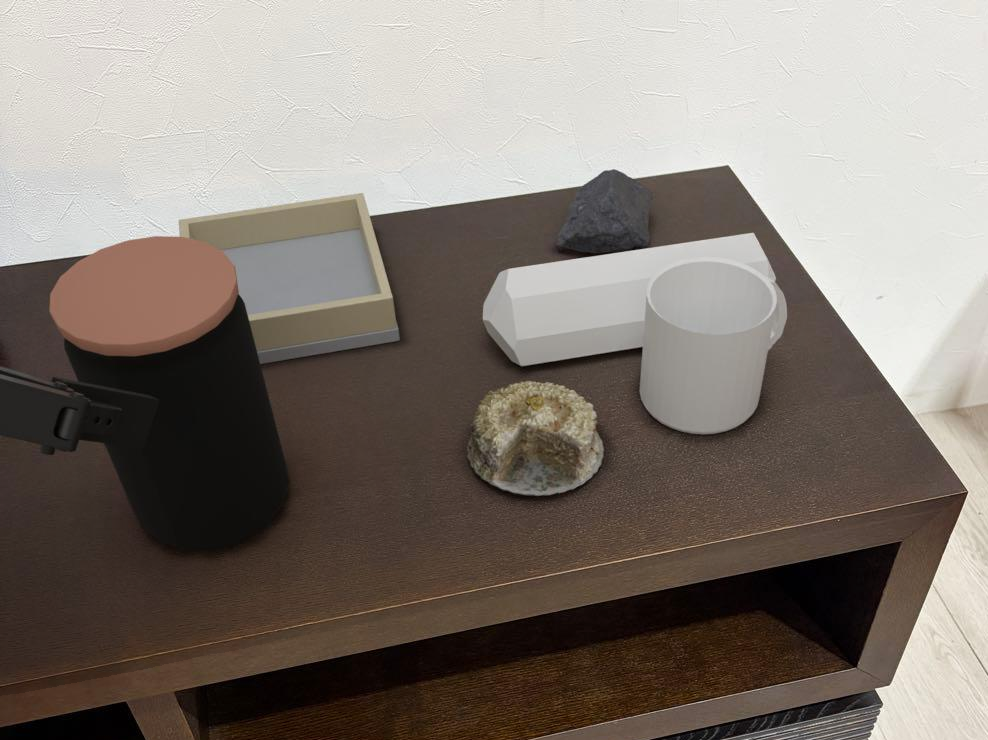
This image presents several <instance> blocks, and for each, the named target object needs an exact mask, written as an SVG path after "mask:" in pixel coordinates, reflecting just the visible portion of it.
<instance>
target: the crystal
mask: <svg viewBox="0 0 988 740" xmlns="http://www.w3.org/2000/svg"><path fill="white" fill-rule="evenodd" d="M699 257H713V258H722V259H728V260H732V261H736V262H740V263H742V264H745V265H747V266H749V267H752V268H753V269H755V270H757V271H758V272H760V273H761V274H762V275H764V276H767V277H769V278H770V279H771V280H773V281H774V282H775V283H776V280H777V277H776V275H775V272H774V270H773V268H772V266H771V263H770V260H769V259H768V257H767V255H766V253H765V251H764V249H763V248H762V246H761V243H760V242H759V240H758V238H757V237H756V234H755V232H749V233H741V234H735V235H729V236H722V237H715V238H708V239H701V240H694V241H688V242H687V241H686V242H681V243H674V244H668V245H667V244H666V245H660V246H654V247H653V246H652V247H647V248H641V249H635V250H625V251H622V252H612V253H607V254H599V255H593V256H586V257H580V258H573V259H566V260H559V261H553V262H552V261H551V262H545V263H539V264H532V265H525V266H519V267H512V268H506V269H504V270H502V271H500V272H499V273H498V274H497V277H496V279H495V281H494V283H493V284H492V286H491V288H490V289H489V292H488V295H486V298H485V300H484V302H483V305H482V322H483V324H484V327H485V329H486V332H487V334H489V336H490V337H491V338H492V340H494V342H495V343H496V345H497V346H498V347H499V348H500V349H501V350H502V351H503V353H504V354H505V356H506V357H508V359H509V360H510V361H511V362H512V363H515V365H518V366H520V367H527V366H531V365H538V364H544V363H550V362H557V361H564V360H570V359H575V358H581V357H588V356H594V355H600V354H606V353H612V352H619V351H625V350H626V351H627V350H631V349H638V348H643V336H644V323H645V309H646V296H647V286H648V284H649V281H650V280H651V278H652V277H653V276H654V275H655V273H657V272H658V271H659V270H661V269H662V268H664V267H665V266H667V265H669V264H671V263H674V262H677V261H680V260H685V259H690V258H699Z"/></svg>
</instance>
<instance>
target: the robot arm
mask: <svg viewBox="0 0 988 740" xmlns="http://www.w3.org/2000/svg"><path fill="white" fill-rule="evenodd" d="M159 401H160V400H159V399H157V398H154V397H152V396H150V395H145V394H140V393H135V392H130V391H125V390H120V389H114V388H109V387H104V386H99V385H94V384H89V383H83V382H78V380H73V379H68V378H62V377H58V376H52V377H51V381H50V380H47V379H43V378H41V377H37V376H34V375H31V374H27V373H24V372H20V371H17V370H15V369H12V368H7V367H5V366H1V365H0V436H1V437H6V438H10V439H14V440H19V441H23V442H27V443H31V444H37V445H40V447H39V449H40V450H39V451H40V454H44V455H48V456H54V455H55V452H56V450H57V451H59V452H63V453H67V452H69V453H74V452H76V451H77V447H78V446H79V441H84V442H85V441H86V442H94V443H100V444H101V443H102V444H104V443H107V444H115V445H123V446H131V447H138V448H144V447H145V444H146V441H147V438H148V435H149V432H150V428H151V425H152V422H153V419H154V416H155V413H156V410H157V407H158V404H159Z"/></svg>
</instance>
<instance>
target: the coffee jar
mask: <svg viewBox="0 0 988 740" xmlns="http://www.w3.org/2000/svg"><path fill="white" fill-rule="evenodd" d="M238 293H239V290H238V283H237V276H236V270H235V266H234V264H233V263H232V262H231V261H230V260H229V258H228V257H227V256H226V255H225V253H224V252H223V251H221V250H219V249H217V248H215V247H213V246H212V245H210V244H208V243H206V242H203V241H198V240H194V239H189V238H185V237H180V236H167V235H166V236H165V235H163V236H160V235H158V236H157V235H154V236H149V237H148V236H147V237H141V238H135V239H128V240H125V241H121V242H118V243H116V244H111V245H110V246H105V247H103V248H100V249H98V250H96V251H95V252H93V253H91V254H89V255H87V256H85V257H84V258H82V259H80V260H78V261H77V262H75V263H74V264H73V265H72V266H71V267H69V269H68V270H66V271H65V272H64V273H63V274H61V276H59V278H58V280H57V282H56V284H54V287H53V288H52V289H51V292H50V295H49V315H50V316H51V319H52V320H53V321H54V324H55V325H56V327H57V329H58V331H59V333H60V334H61V336H62V338H63V346H64V352H65V353H66V357H67V359H68V361H69V363H70V366H71V368H72V371H73V373H74V375H75V378H76V381H78V382H83V383H89V384H94V385H99V386H104V387H109V388H114V389H120V390H125V391H130V392H135V393H140V394H145V395H150V396H152V397H154V398H157V399H159V400H160V401H159V404H158V407H157V410H156V413H155V416H154V419H153V422H152V425H151V428H150V432H149V435H148V438H147V441H146V444H145V447H144V448H138V447H131V446H123V445H115V444H107V443H103V444H104V446H105V450H106V452H107V453H108V456H109V458H110V460H111V463H112V465H113V468H114V470H115V472H116V475H117V477H118V479H119V482H120V484H121V487H122V489H123V491H124V493H125V496H126V499H127V501H128V503H129V505H130V507H131V510H132V513H133V515H134V517H135V518H136V520H137V522H138V523H139V525H140V527H141V528H142V529H143V530H144V531H146V532H147V533H149V534H150V535H151V536H152V537H154V538H155V539H156V540H158V541H159V542H160V543H163V544H167V545H168V546H171V547H174V548H178V549H180V550H184V551H187V552H214V551H218V550H224V549H229V548H233V547H235V546H237V545H240V544H242V543H244V542H246V541H249V540H251V539H253V538H254V537H255V536H256V535H258V534H259V533H260V532H262V531H263V530H265V528H267V527H268V526H269V525H270V523H271V522H272V521H273V519H274V518H275V517H276V516H277V514H278V513H279V512H280V509H281V508H282V507H283V505H284V503H285V499H286V496H287V492H288V488H289V486H290V478H289V473H288V466H287V462H286V459H285V455H284V449H283V446H282V443H281V438H280V435H279V431H278V427H277V423H276V420H275V416H274V411H273V408H272V404H271V400H270V397H269V392H268V389H267V385H266V380H265V377H264V373H263V369H262V364H260V361H259V357H258V353H257V349H256V345H255V341H254V338H253V334H252V330H251V326H250V322H249V318H248V314H247V310H246V306H245V303H244V301H243V299H242V298H241V296H240V295H239V294H238Z"/></svg>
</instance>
